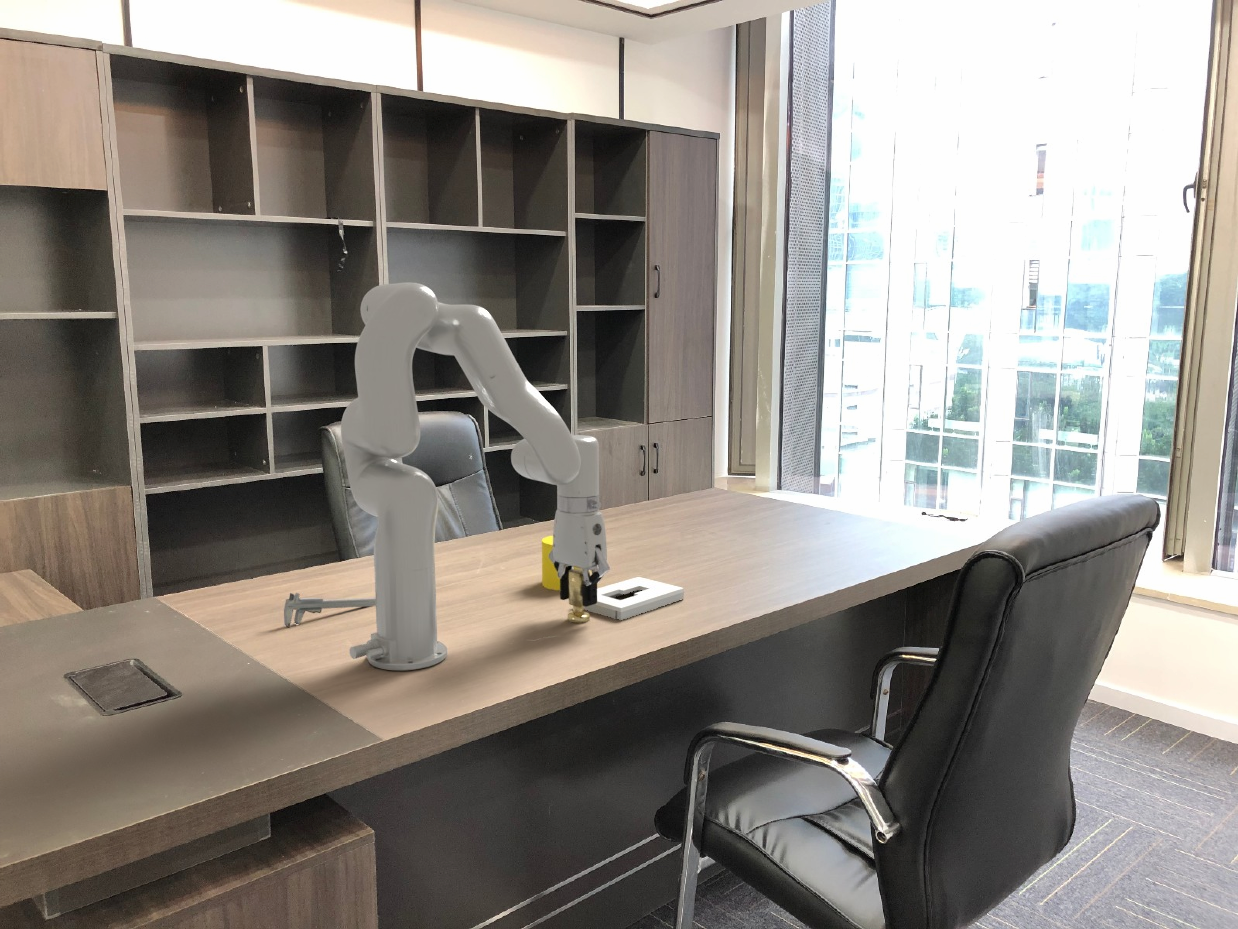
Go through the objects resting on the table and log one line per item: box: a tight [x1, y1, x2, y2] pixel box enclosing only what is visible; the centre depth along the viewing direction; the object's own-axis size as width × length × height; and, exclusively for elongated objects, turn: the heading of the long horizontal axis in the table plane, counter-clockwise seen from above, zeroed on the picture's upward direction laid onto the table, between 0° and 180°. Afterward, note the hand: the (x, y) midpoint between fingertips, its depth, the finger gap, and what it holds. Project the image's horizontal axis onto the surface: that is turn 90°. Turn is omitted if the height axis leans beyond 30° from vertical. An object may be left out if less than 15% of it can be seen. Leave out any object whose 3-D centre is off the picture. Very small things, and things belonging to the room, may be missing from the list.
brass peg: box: [567, 569, 591, 624], centre depth 173 cm, size 4×4×9 cm
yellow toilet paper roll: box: [541, 535, 591, 591], centre depth 197 cm, size 10×10×9 cm
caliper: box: [283, 592, 376, 627], centre depth 176 cm, size 20×1×6 cm, turn 139°
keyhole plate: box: [584, 576, 685, 621], centre depth 184 cm, size 18×12×2 cm, turn 137°
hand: (578, 600), depth 173 cm, fingers open, 5 cm apart
